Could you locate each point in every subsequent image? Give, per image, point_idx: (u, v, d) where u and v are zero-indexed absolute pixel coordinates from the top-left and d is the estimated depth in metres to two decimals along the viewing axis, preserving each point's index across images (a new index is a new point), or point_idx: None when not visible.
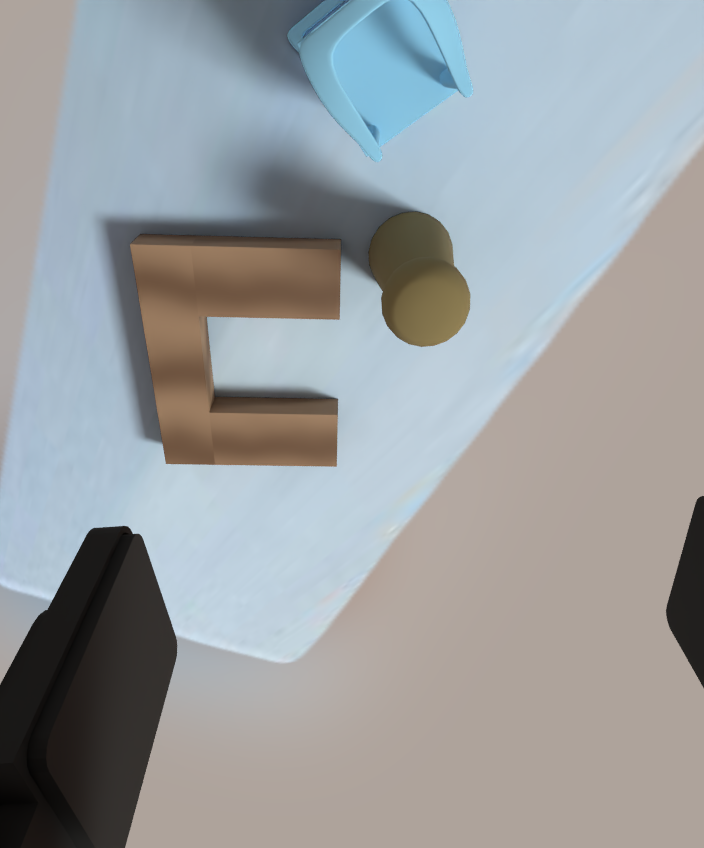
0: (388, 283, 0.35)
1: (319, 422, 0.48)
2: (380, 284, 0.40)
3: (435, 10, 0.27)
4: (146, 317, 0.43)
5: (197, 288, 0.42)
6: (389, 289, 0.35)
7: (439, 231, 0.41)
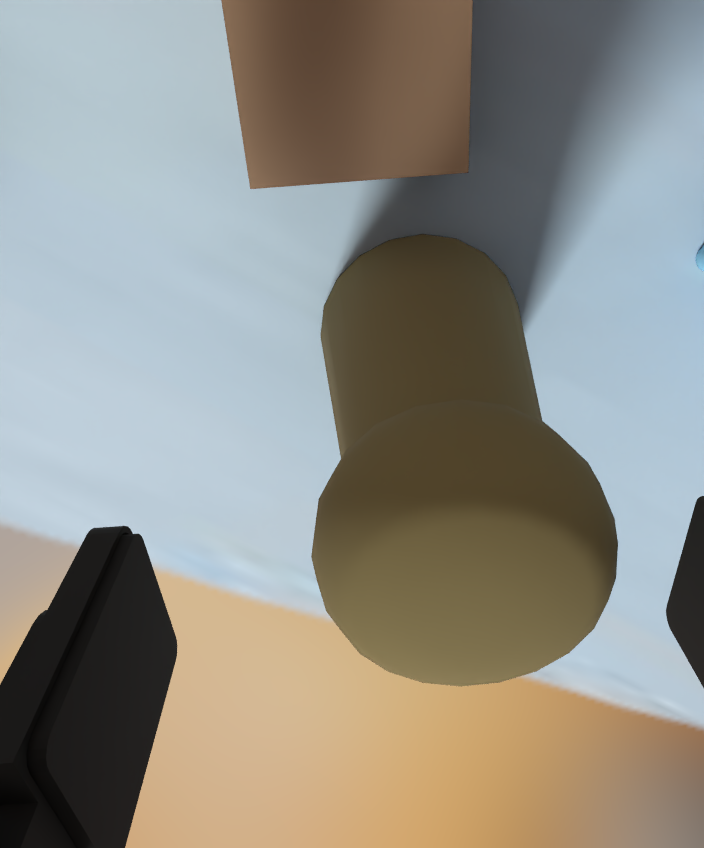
0: (541, 442, 0.09)
1: None
2: (403, 319, 0.14)
3: None
4: None
5: None
6: (536, 463, 0.09)
7: None
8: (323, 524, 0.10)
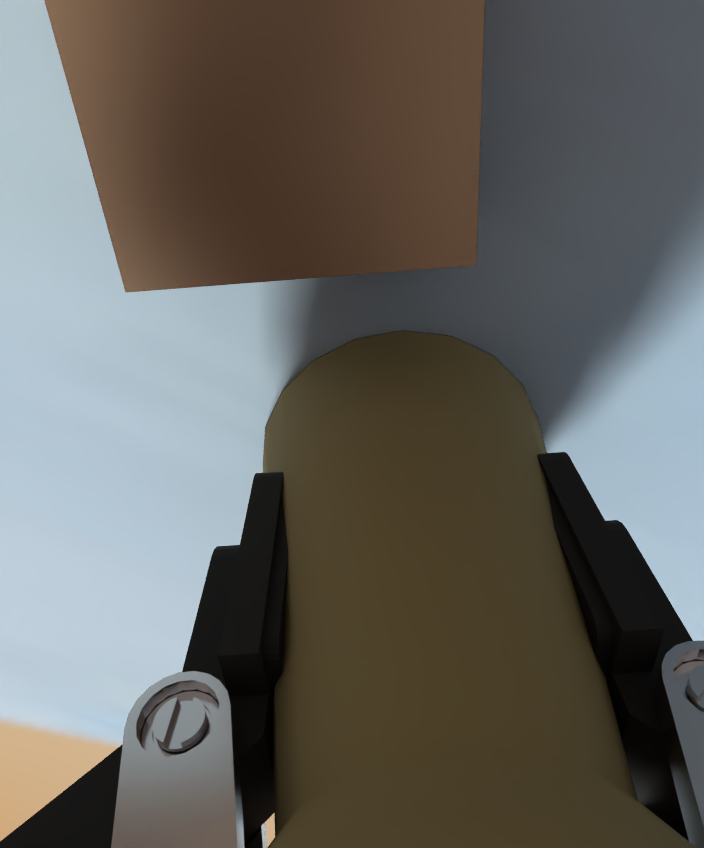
0: None
1: None
2: (373, 507, 0.08)
3: None
4: None
5: None
6: None
7: None
8: None
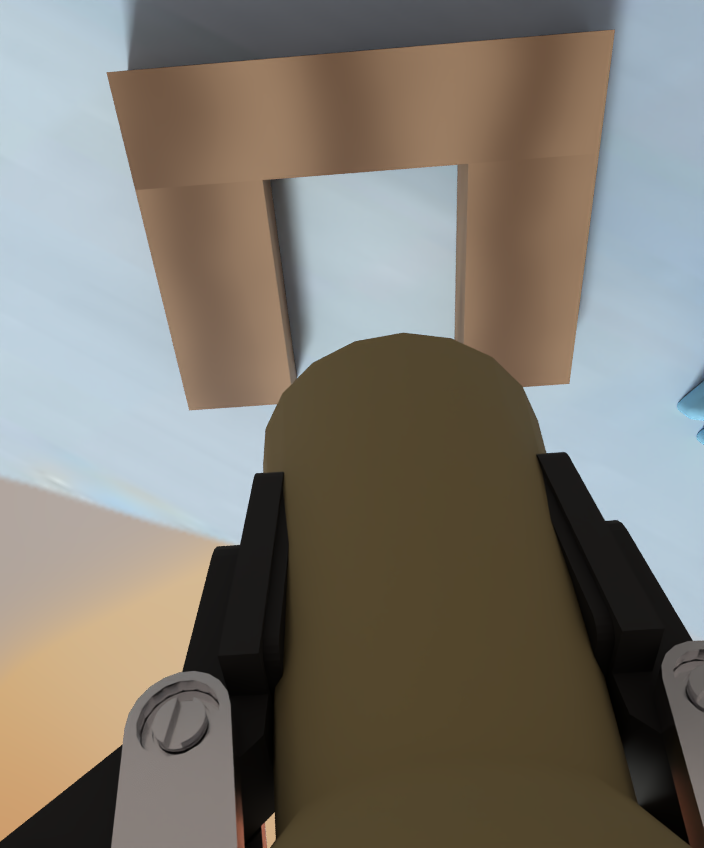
0: None
1: (274, 377, 0.28)
2: (374, 510, 0.08)
3: None
4: (466, 52, 0.22)
5: (521, 163, 0.24)
6: None
7: None
8: None
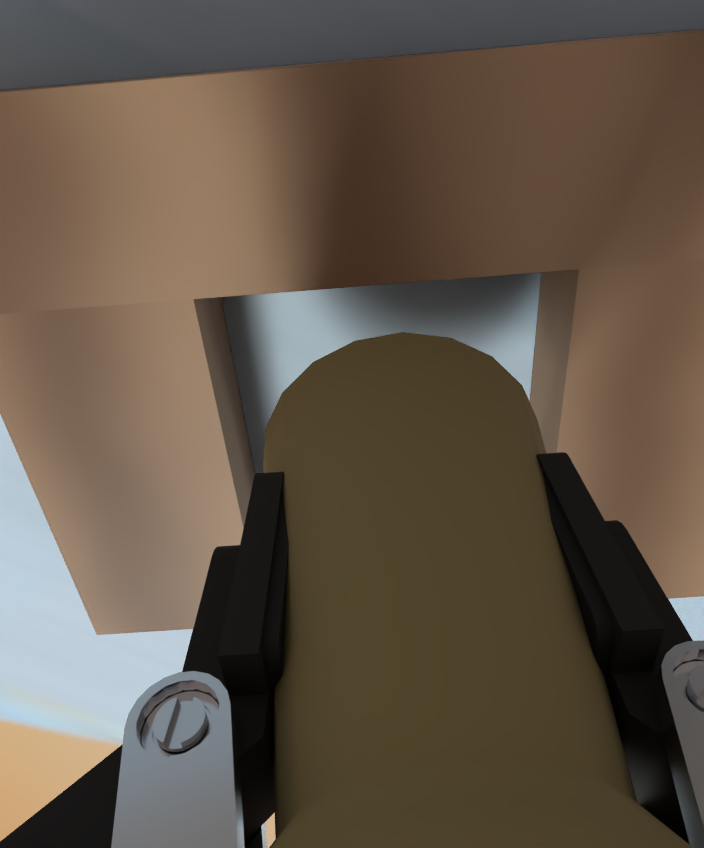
0: None
1: None
2: (374, 510, 0.08)
3: None
4: (594, 62, 0.11)
5: (678, 268, 0.13)
6: None
7: None
8: None
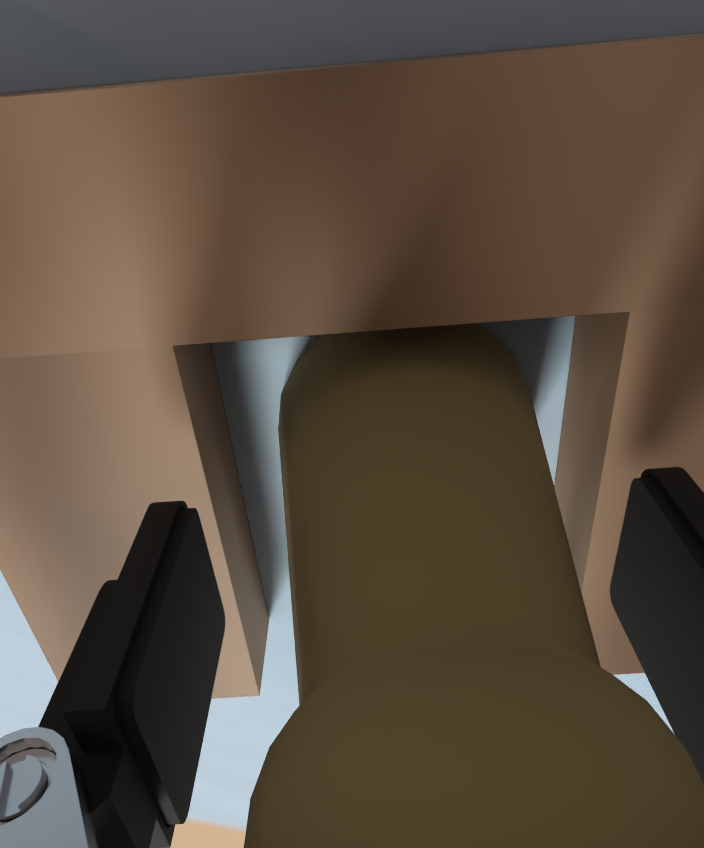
0: (624, 762, 0.05)
1: (222, 662, 0.15)
2: (382, 450, 0.10)
3: None
4: (659, 66, 0.09)
5: None
6: (625, 827, 0.05)
7: None
8: None
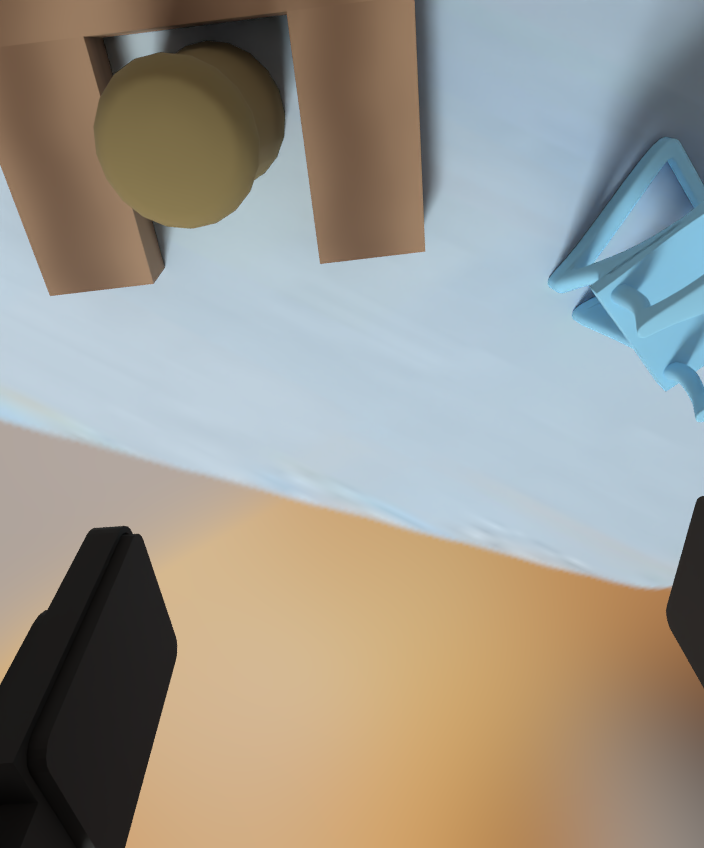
0: (198, 60, 0.19)
1: (129, 256, 0.28)
2: None
3: None
4: None
5: (339, 9, 0.24)
6: (188, 62, 0.18)
7: (270, 156, 0.27)
8: None
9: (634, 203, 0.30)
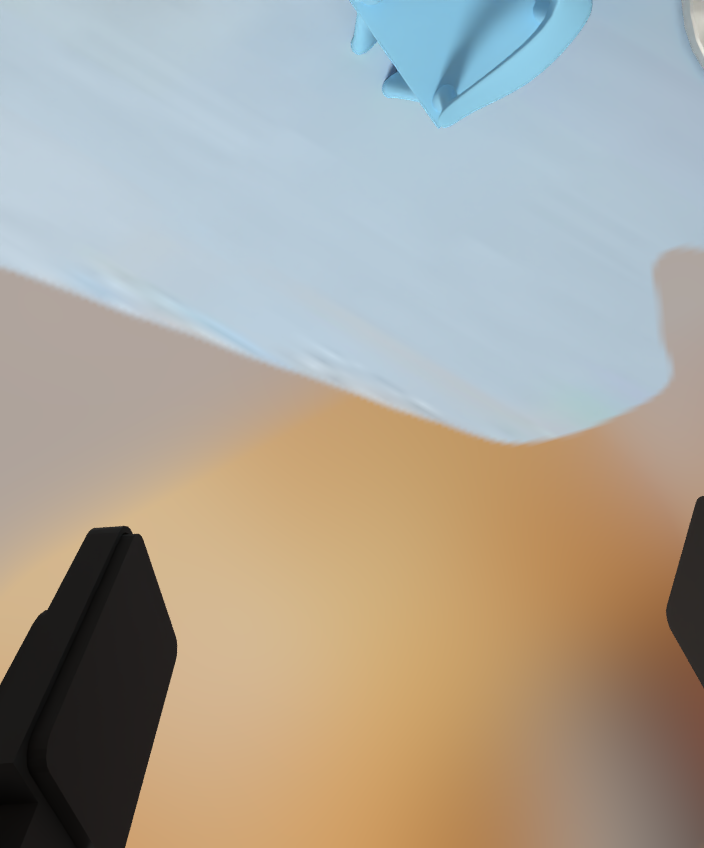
0: None
1: None
2: None
3: (540, 51, 0.21)
4: None
5: None
6: None
7: None
8: None
9: None
